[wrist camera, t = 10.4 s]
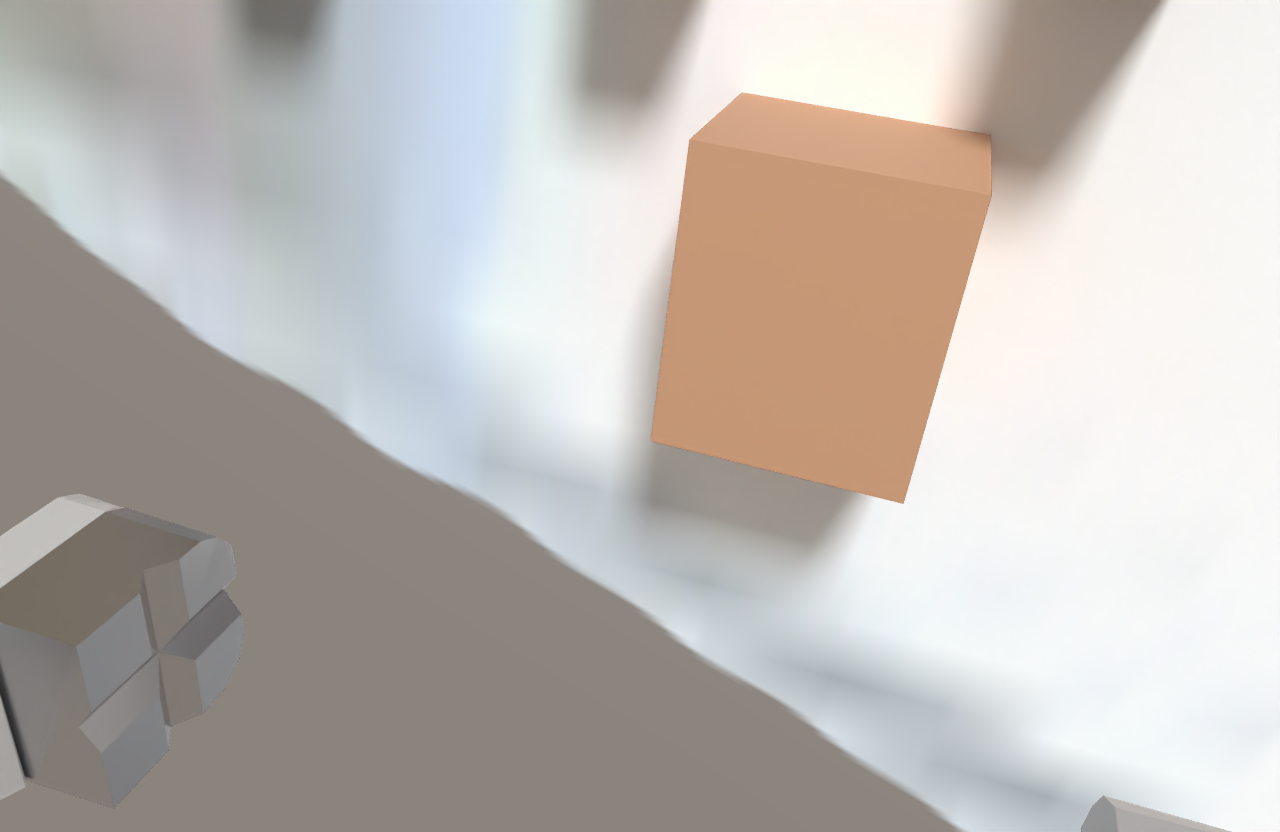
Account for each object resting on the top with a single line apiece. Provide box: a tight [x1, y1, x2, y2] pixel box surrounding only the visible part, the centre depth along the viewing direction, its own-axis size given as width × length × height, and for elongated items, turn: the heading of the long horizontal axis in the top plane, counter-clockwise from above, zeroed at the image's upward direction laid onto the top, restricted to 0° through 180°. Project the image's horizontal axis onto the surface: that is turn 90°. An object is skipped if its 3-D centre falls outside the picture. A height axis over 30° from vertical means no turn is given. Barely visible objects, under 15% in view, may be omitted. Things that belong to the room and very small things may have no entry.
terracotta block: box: [651, 93, 992, 504], centre depth 20 cm, size 5×6×4 cm
